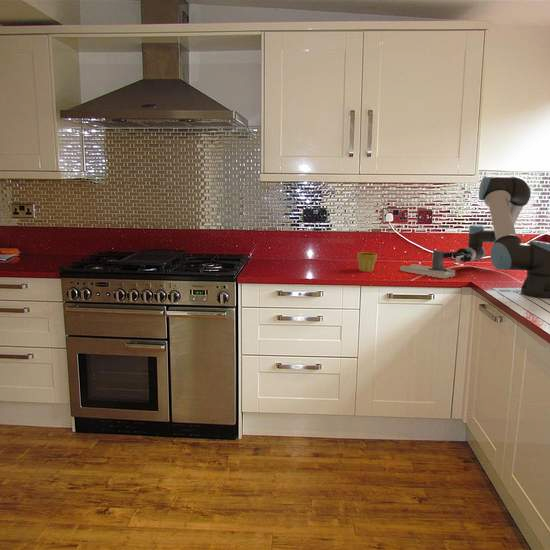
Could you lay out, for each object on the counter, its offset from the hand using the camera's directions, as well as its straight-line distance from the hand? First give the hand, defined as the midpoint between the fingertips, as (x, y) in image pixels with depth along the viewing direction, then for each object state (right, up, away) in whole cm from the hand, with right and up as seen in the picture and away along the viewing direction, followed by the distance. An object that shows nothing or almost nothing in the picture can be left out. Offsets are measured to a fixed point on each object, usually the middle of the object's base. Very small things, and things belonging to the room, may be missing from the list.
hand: (444, 257), depth 264 cm
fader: (-5, -7, -3) cm, 9 cm away
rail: (-8, -8, +2) cm, 12 cm away
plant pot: (-39, -7, +7) cm, 41 cm away
